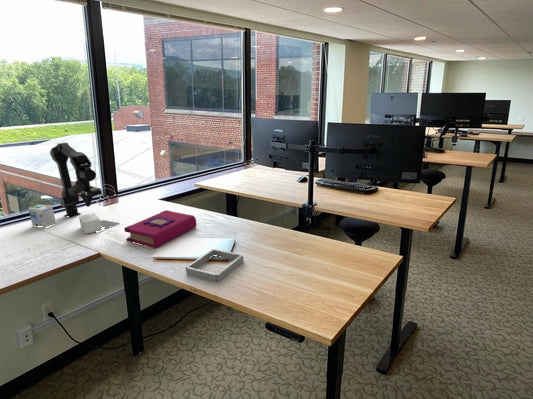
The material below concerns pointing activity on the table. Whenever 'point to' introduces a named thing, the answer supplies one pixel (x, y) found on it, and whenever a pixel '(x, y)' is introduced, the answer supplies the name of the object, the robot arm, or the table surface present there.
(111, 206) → the table surface
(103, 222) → the mat
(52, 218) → the light bulb box
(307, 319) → the table surface
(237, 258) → the frame
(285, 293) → the table surface
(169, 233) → the book
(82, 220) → the small box
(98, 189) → the robot arm
